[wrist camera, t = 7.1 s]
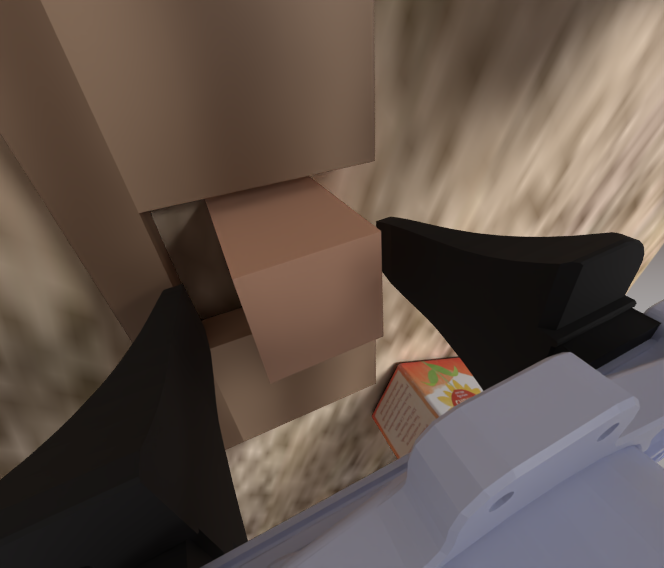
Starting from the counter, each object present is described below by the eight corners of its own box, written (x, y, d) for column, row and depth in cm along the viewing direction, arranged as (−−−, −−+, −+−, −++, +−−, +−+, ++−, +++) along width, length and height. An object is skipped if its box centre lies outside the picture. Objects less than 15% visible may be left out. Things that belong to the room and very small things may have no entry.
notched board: (338, -107, 9) (373, -139, 8) (360, 360, 21) (375, 383, 20) (-117, -126, 6) (-201, -183, 5) (201, 425, 18) (205, 458, 17)
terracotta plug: (304, 172, 13) (380, 231, 9) (317, 256, 16) (383, 336, 11) (204, 198, 12) (232, 279, 8) (235, 283, 15) (270, 383, 10)
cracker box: (366, 417, 25) (717, 1012, 9) (396, 358, 23) (944, 1037, 7) (481, 396, 32) (794, 718, 16) (514, 349, 30) (921, 676, 14)
